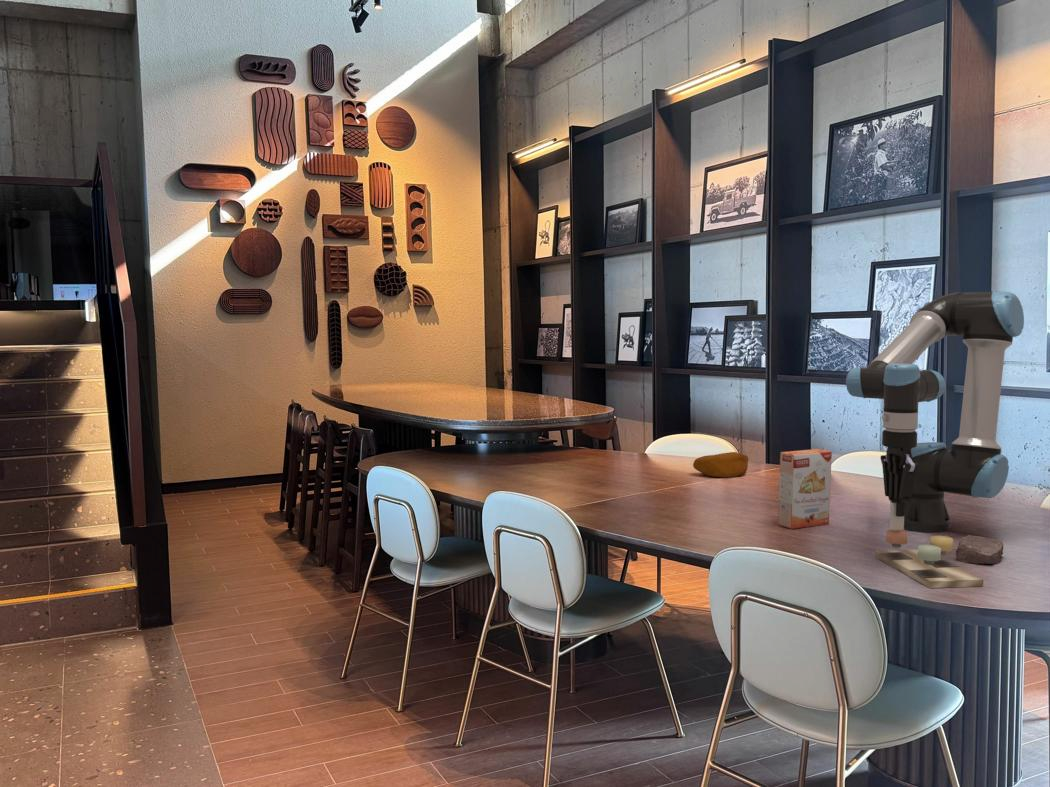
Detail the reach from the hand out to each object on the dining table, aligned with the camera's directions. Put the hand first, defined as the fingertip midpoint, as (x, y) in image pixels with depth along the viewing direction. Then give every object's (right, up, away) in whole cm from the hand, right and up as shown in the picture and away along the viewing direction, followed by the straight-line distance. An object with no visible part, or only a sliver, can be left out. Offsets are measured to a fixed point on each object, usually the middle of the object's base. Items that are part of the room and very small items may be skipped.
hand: (896, 528), depth 203 cm
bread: (-16, +2, +113) cm, 115 cm away
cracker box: (-10, -5, +38) cm, 40 cm away
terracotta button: (0, -4, +1) cm, 4 cm away
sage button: (+1, -6, -13) cm, 15 cm away
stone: (+22, -8, +4) cm, 23 cm away
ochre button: (+8, -5, -6) cm, 11 cm away
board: (+4, -9, -6) cm, 11 cm away
